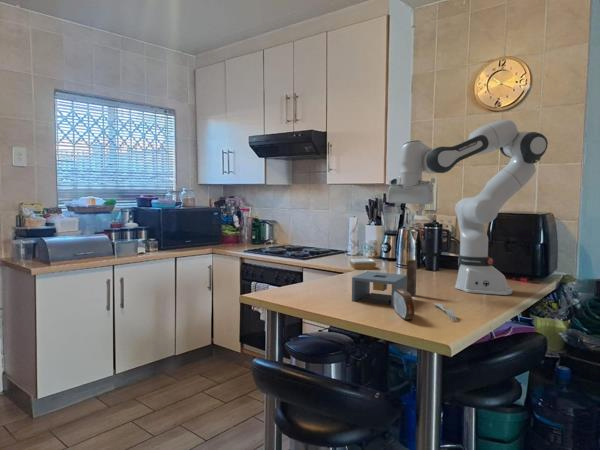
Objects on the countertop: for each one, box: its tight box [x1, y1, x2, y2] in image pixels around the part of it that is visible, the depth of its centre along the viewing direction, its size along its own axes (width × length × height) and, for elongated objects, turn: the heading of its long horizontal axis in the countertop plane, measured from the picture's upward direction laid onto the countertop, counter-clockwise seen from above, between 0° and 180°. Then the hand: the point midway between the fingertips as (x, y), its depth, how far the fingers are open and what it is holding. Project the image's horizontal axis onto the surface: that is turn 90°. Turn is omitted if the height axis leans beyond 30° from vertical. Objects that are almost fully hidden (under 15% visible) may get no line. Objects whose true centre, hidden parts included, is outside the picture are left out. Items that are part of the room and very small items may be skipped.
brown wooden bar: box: [406, 259, 418, 298], centre depth 177 cm, size 3×3×14 cm
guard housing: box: [351, 270, 407, 308], centre depth 168 cm, size 16×16×9 cm
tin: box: [393, 289, 415, 321], centre depth 146 cm, size 15×3×8 cm, turn 4°
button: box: [372, 282, 388, 292], centre depth 168 cm, size 4×4×3 cm
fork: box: [433, 302, 458, 322], centre depth 151 cm, size 3×21×3 cm, turn 178°
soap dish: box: [349, 258, 377, 270], centre depth 241 cm, size 12×10×5 cm
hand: (409, 214), depth 183 cm, fingers open, 8 cm apart
